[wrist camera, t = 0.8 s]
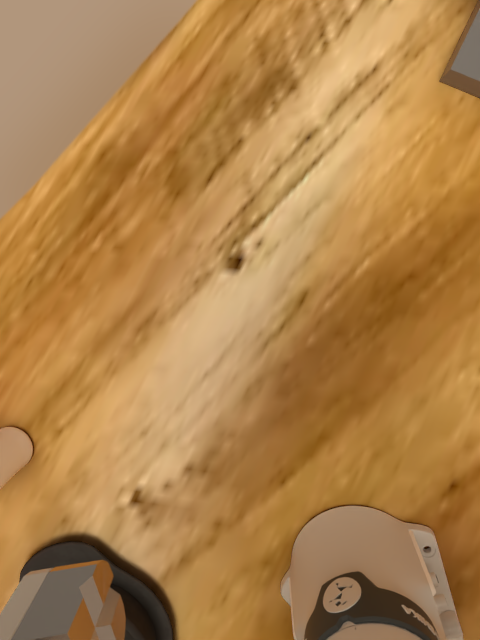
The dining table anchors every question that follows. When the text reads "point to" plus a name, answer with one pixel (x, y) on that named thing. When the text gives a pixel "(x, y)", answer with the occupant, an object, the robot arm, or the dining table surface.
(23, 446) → the drinking glass
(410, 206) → the dining table surface
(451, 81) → the panel
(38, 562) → the casserole
